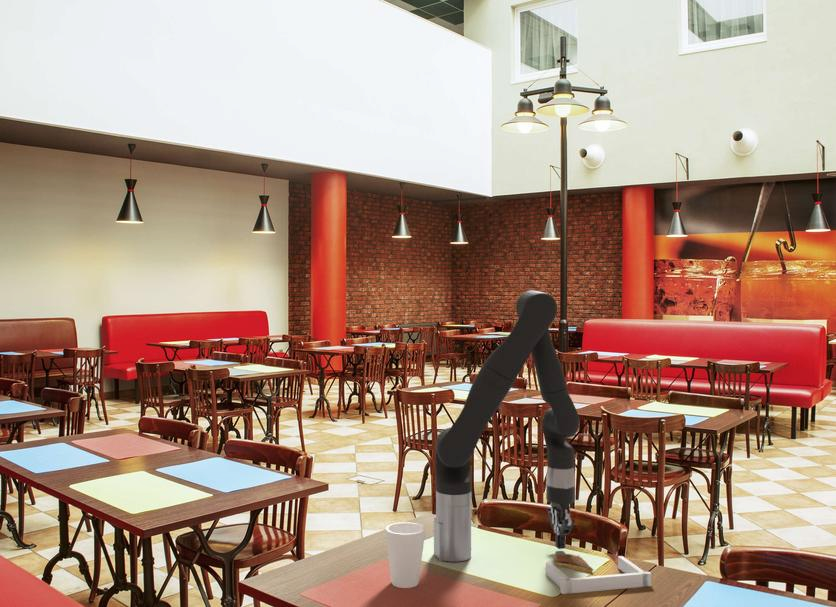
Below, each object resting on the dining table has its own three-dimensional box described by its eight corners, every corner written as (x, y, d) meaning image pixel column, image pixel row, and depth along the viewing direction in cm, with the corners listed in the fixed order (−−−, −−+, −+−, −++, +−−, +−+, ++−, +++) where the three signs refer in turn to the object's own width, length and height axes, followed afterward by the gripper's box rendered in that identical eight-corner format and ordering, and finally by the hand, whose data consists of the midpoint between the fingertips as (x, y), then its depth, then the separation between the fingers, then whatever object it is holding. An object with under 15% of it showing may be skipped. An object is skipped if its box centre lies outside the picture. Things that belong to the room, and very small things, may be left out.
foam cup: (430, 578, 179) (430, 524, 179) (417, 592, 170) (418, 536, 170) (393, 573, 182) (393, 520, 182) (379, 587, 173) (379, 531, 173)
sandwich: (593, 575, 182) (593, 568, 182) (563, 577, 181) (563, 569, 181) (578, 559, 193) (578, 552, 193) (549, 561, 192) (549, 554, 192)
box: (562, 594, 170) (562, 581, 170) (542, 574, 181) (542, 562, 181) (651, 586, 174) (651, 573, 174) (625, 567, 186) (625, 555, 186)
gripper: (538, 478, 204) (537, 540, 204) (557, 490, 191) (557, 557, 191) (563, 476, 206) (563, 539, 206) (584, 488, 193) (584, 555, 193)
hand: (560, 547), depth 198 cm, fingers closed
